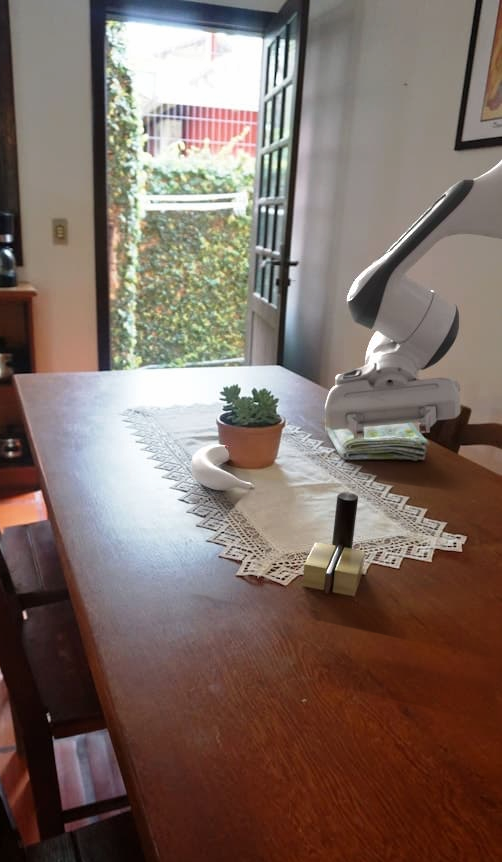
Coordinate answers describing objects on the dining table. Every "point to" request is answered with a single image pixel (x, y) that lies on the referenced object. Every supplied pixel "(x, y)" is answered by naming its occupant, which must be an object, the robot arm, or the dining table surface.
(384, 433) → the towel
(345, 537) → the knife
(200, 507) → the dining table surface
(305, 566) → the slotted cream block
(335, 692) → the dining table surface
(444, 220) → the robot arm
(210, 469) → the banana
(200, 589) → the dining table surface
